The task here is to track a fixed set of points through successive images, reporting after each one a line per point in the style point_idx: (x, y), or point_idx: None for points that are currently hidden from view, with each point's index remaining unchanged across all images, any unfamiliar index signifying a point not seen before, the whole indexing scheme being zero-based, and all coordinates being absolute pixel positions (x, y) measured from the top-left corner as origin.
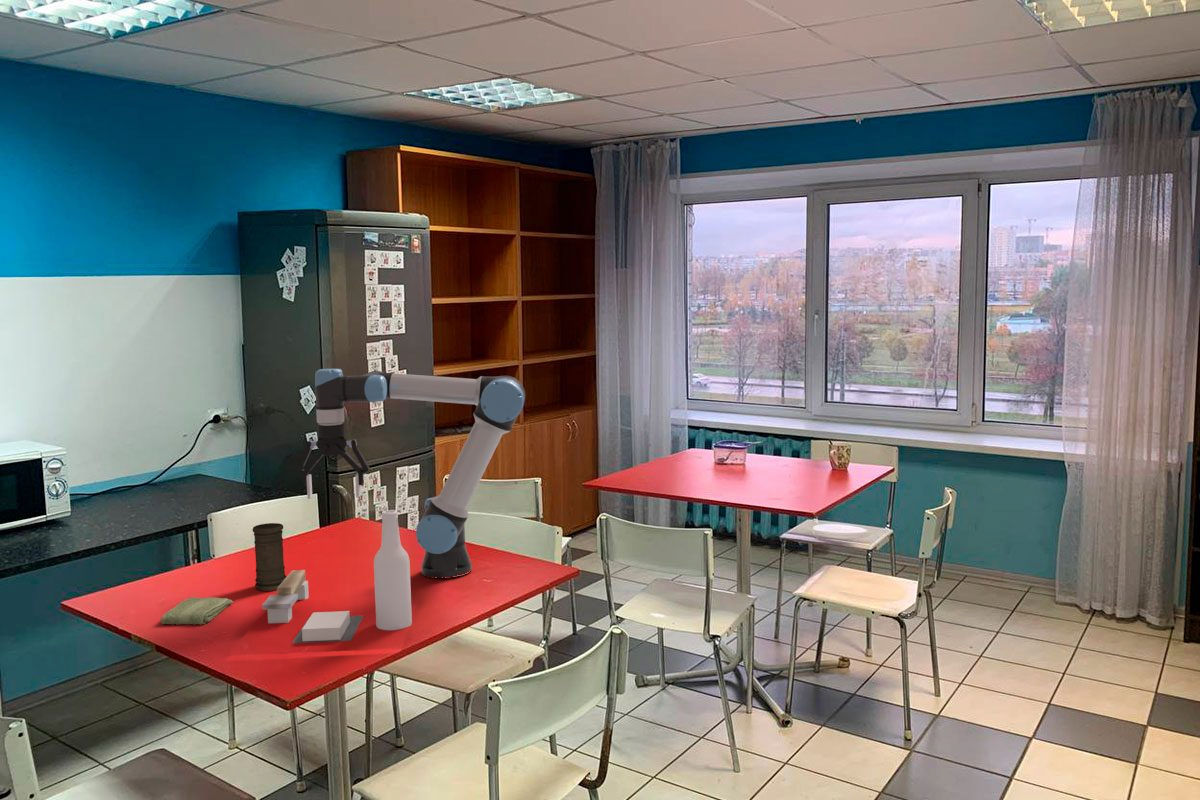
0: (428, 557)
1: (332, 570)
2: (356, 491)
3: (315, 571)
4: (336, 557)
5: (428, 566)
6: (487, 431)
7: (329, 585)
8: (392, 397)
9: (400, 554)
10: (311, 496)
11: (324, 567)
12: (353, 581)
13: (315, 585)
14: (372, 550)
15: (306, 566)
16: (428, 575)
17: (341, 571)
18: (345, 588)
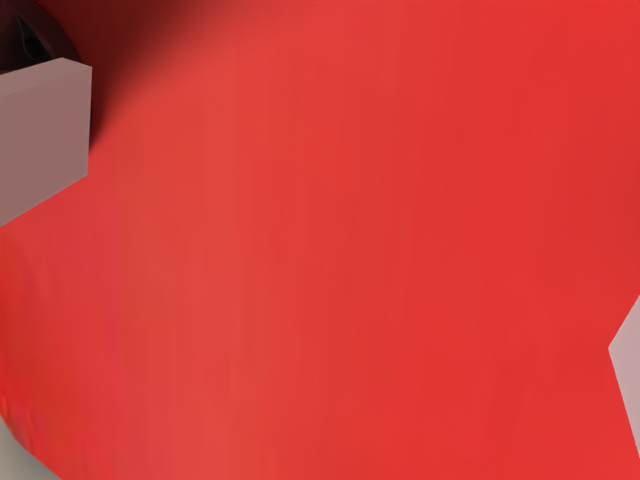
0: (6, 69)
1: (429, 305)
2: (39, 80)
3: (497, 323)
4: (394, 448)
5: (35, 62)
6: None
7: (471, 96)
8: None
9: None
10: (634, 316)
11: (454, 356)
12: (362, 113)
13: (532, 123)
14: (266, 461)
15: (520, 400)
16: (55, 29)
17: (395, 276)
18: (407, 15)
